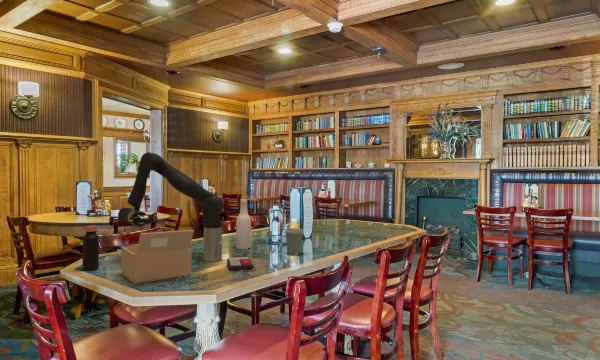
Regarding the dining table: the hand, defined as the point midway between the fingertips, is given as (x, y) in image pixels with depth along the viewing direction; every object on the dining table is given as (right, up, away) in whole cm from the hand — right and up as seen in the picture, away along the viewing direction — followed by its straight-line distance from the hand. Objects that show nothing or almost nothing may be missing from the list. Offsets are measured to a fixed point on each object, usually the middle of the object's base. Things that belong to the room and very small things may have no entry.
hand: (148, 221), depth 190 cm
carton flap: (+15, -6, -20) cm, 26 cm away
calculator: (+42, -24, +6) cm, 49 cm away
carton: (+7, -23, -10) cm, 26 cm away
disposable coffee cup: (+68, -23, +41) cm, 83 cm away
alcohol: (+37, -22, +56) cm, 71 cm away
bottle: (-26, -22, -2) cm, 34 cm away
